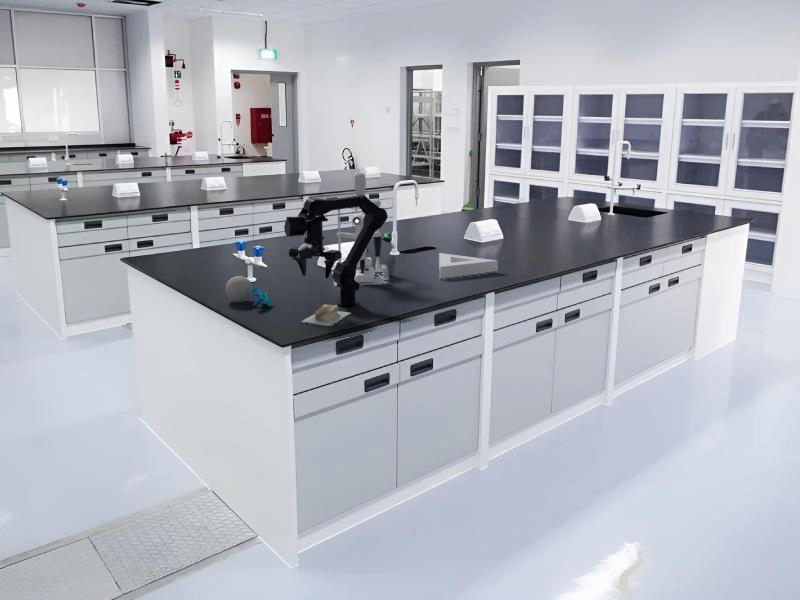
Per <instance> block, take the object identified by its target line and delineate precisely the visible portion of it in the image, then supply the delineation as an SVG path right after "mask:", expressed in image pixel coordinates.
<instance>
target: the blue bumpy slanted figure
mask: <svg viewBox="0 0 800 600" xmlns="http://www.w3.org/2000/svg"><path fill="white" fill-rule="evenodd" d="M252 286H253V285H252ZM252 291H253V292H252V293H253V295H254V296H256V297H257V299H256V301H255V302H253V304H252V307H256V306H257V305H258V304H260V303H261V302H262V304H264V305H266V306H267V307H269V308H270V307H271V308H272V307H274V302H273V301H272V299H271V298H270V297H268V293H267V292H265V291H264V292H263V290H262V289H261V288H260V289H259V287H258V286H253V287H252Z"/></svg>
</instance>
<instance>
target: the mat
mask: <svg viewBox="0 0 800 600" xmlns="http://www.w3.org/2000/svg"><path fill="white" fill-rule="evenodd" d="M349 314H351V315H352V312H346V311H340V310H338V314H337V315H336V316H335V317H333V318H332V319H331V320H330V321H315V313H314V314H312V315H311V316H308V317H306V318H305V319H302V320H301V323H302V324H306V323H308V324H307V325H313V324H314V325H313V326H323V327H328V326H329V328H330V326H331V327H332V326H334V325H336V324H337V323H339V322H341V321H342V320H344V319H345V317H346V316H347V317H349V316H350V315H349ZM348 315H349V316H348ZM347 317H346V318H347ZM343 318H344V319H343ZM340 320H341V321H340ZM338 321H339V322H338ZM335 323H336V324H335Z"/></svg>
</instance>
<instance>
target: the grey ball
mask: <svg viewBox="0 0 800 600" xmlns="http://www.w3.org/2000/svg"><path fill="white" fill-rule="evenodd" d="M252 287H253V283H252V281H250V279H249V278H247V277H245V276H243V275H236V276H233V277H231V278H230V279H229V280H227V282H226V284H225V294H226V296H227V298H228V299H229V300H230V301H233V302H234V303H244V302H246V301H248V300H249V299H250V298H251V297H252V295H253V293H254V292H253V291H252Z"/></svg>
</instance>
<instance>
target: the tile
mask: <svg viewBox="0 0 800 600" xmlns="http://www.w3.org/2000/svg"><path fill="white" fill-rule="evenodd" d="M338 309H339V306H338V305H337V304H326V303H325V304H323V305H322V306H320V307H319V308H318V309H317V310H316V311H314V314H315V321H330V320H331V319H332V318H333V317H335V316H336V315H337V314H338V311H339V310H338Z"/></svg>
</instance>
